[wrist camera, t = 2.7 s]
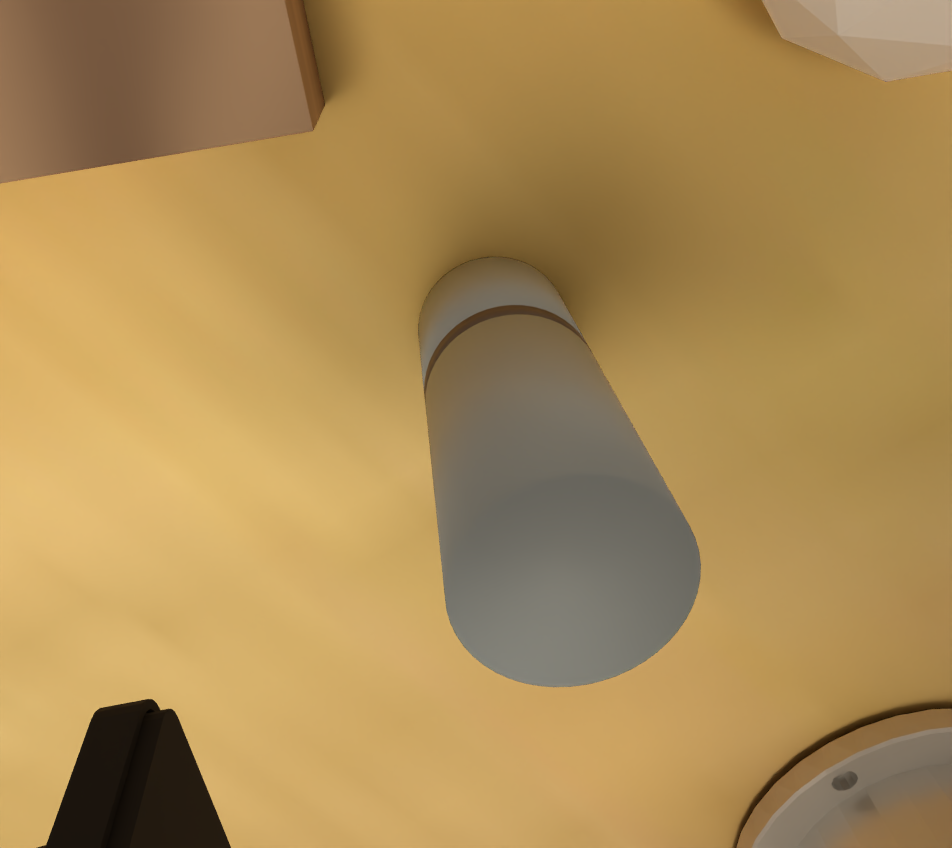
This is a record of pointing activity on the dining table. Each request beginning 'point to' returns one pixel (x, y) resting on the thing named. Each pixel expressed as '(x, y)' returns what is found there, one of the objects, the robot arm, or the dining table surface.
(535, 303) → the peg
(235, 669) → the dining table surface
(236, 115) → the board
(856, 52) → the geometric ball
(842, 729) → the dining table surface
